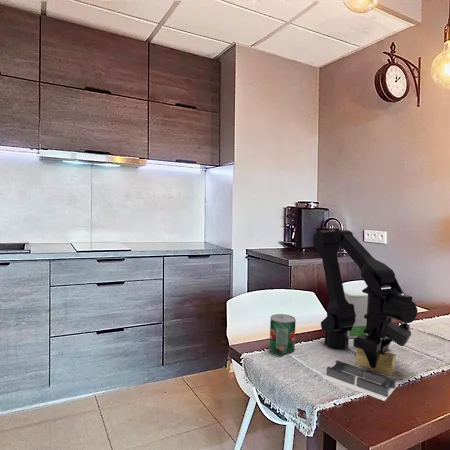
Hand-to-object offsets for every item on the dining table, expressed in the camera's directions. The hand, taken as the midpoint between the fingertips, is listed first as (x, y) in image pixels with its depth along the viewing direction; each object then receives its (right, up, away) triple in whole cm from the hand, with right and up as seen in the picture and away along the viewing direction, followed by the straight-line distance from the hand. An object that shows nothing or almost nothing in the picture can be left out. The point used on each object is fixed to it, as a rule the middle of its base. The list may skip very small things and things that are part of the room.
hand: (374, 365), depth 102 cm
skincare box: (+4, 0, +29) cm, 29 cm away
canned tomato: (-25, 0, +11) cm, 27 cm away
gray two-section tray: (-7, -1, -8) cm, 11 cm away
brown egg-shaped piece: (+8, -1, +17) cm, 19 cm away
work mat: (-7, -2, -8) cm, 11 cm away
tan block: (0, -2, 0) cm, 2 cm away
